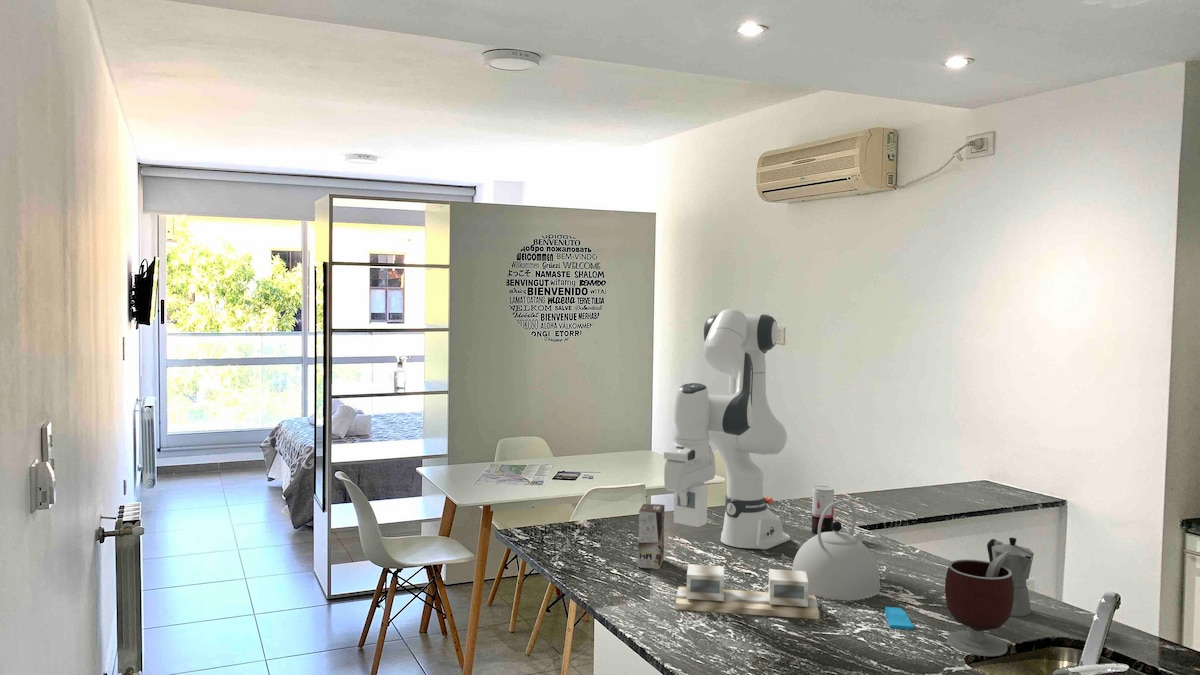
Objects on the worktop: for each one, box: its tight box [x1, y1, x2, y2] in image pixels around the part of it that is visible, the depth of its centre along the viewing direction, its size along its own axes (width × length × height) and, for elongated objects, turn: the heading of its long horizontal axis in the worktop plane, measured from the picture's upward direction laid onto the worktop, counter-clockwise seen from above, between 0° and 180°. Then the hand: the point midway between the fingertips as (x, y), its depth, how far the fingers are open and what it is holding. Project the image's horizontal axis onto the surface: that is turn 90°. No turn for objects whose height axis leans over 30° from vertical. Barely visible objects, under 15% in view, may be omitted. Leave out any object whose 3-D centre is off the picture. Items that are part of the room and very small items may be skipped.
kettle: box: [791, 499, 881, 601], centre depth 229 cm, size 25×23×23 cm
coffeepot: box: [986, 537, 1035, 618], centre depth 213 cm, size 15×9×18 cm, turn 13°
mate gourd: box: [944, 551, 1014, 657], centre depth 191 cm, size 16×14×20 cm
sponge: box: [884, 606, 916, 631], centre depth 205 cm, size 2×12×6 cm
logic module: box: [673, 483, 708, 528], centre depth 218 cm, size 5×7×10 cm, turn 55°
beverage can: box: [811, 485, 835, 536], centre depth 275 cm, size 6×6×15 cm
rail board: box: [674, 563, 820, 620], centre depth 213 cm, size 34×12×8 cm, turn 81°
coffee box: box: [637, 503, 665, 570], centre depth 244 cm, size 9×6×16 cm
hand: (690, 502), depth 218 cm, fingers closed on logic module, 5 cm apart
